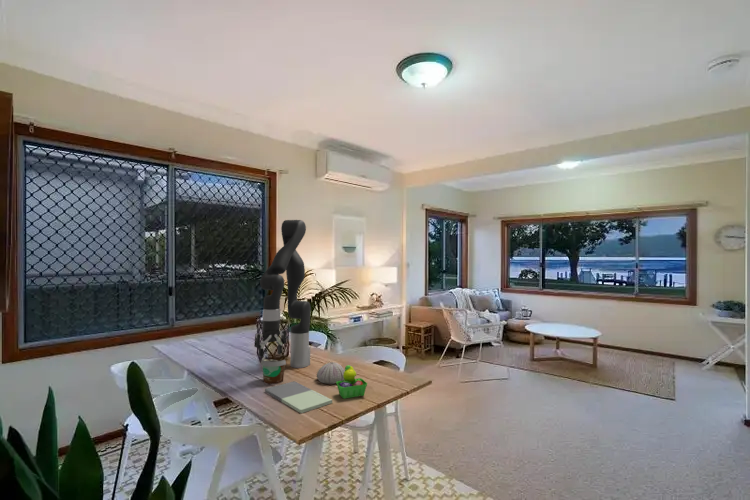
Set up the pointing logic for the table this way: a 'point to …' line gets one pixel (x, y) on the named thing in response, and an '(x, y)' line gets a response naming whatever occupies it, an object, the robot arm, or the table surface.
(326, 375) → the sea urchin shell
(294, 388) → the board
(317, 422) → the table surface
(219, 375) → the table surface
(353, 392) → the fruit basket
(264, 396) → the table surface
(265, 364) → the food container
